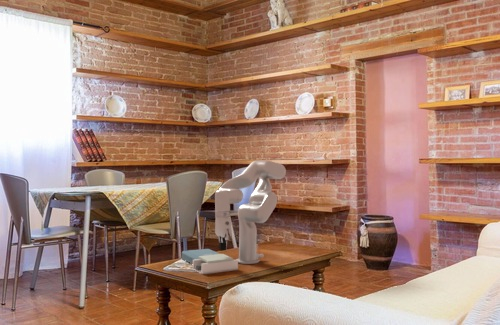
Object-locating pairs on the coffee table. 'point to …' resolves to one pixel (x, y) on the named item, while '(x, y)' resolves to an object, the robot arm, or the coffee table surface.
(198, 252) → the book
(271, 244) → the coffee table surface
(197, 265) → the white channel
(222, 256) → the cover
